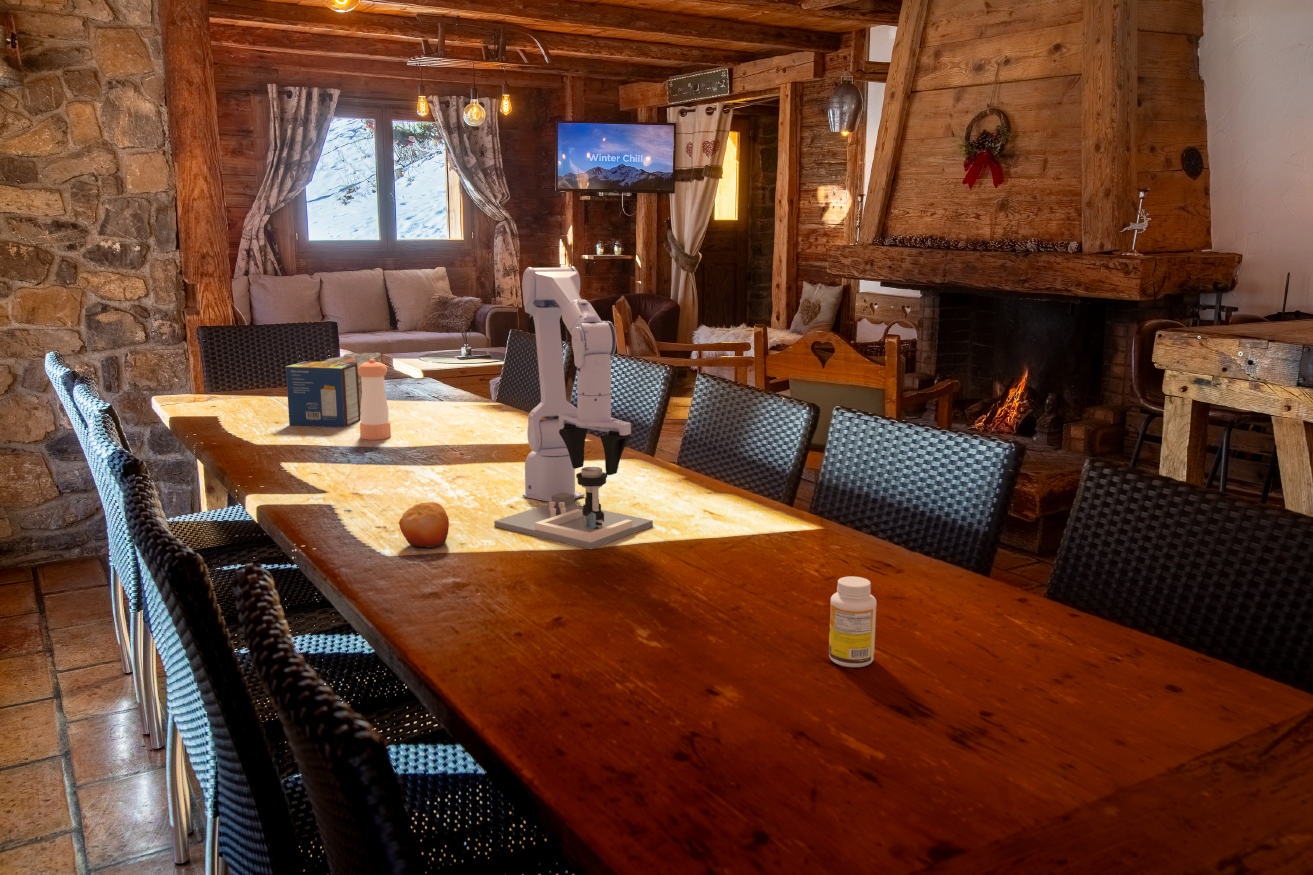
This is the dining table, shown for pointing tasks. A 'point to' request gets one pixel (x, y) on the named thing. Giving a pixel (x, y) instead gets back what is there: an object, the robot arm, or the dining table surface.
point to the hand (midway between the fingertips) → (594, 470)
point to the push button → (592, 495)
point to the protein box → (323, 394)
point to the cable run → (560, 503)
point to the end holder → (552, 527)
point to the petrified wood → (360, 360)
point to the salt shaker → (373, 402)
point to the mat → (570, 525)
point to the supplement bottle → (852, 623)
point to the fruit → (425, 525)
